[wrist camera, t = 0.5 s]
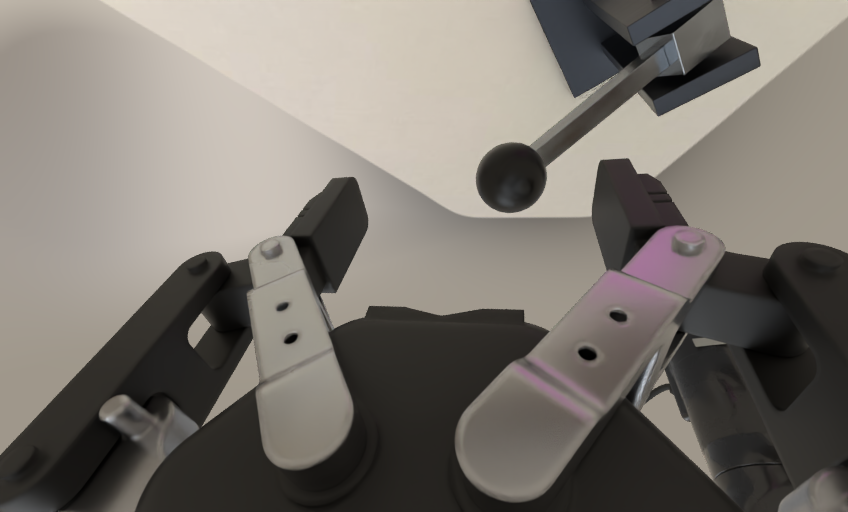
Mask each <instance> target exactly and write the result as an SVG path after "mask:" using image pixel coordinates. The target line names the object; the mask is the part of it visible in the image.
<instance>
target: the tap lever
mask: <svg viewBox="0 0 848 512" xmlns="http://www.w3.org/2000/svg"><path fill="white" fill-rule="evenodd" d="M730 38H731V36H730V32H729V27H728V22H727V18H726V13H725V9H724V4H723V0H711V1H709V2H708V3H706V4H704V5H702V6H701V7H699V8H697V9H696V10H694V11H692V12H691V13H689V14H687V15H686V16H684V17H682V18H681V19H679V20H677V21H676V22H674V23H672V24H671V25H669V26H667V27H666V28H664V29H662V30H661V31H659V32H657V33H655V34H654V35H652V36H650V37H649V38H647V39H645V40H644V41H642V42H640V43H639V44H637V45H636V47H637V50H638V53H639V56H638V57H637V58H636V59H635V60H634V61H632V62H631V63H630V64H629V65H627V66H626V67H625V68H624V69H623V70H621V71H620V72H619V73H618V74H617V75H615V76H614V77H613V78H612V79H610V80H609V81H608V82H607V83H606V84H604V85H603V86H602V87H601V88H599V89H598V90H597V91H596V92H595V93H593V94H592V95H591V96H590V97H588V98H587V99H586V100H585V101H584V102H582V103H581V104H580V105H579V106H578V107H576V108H575V109H574V110H573V111H571V112H570V113H569V114H568V115H567V116H565V117H564V118H563V119H562V120H560V121H559V122H558V123H557V124H556V125H554V126H553V127H552V128H551V129H549V130H548V131H547V132H546V133H545V134H543V135H542V136H541V137H540V138H539V139H537V140H536V141H535V142H534V143H532V144H531V145H530V146H527V145H525V144H522V143H513V142H511V143H505V144H501V145H498V146H496V147H495V148H493V149H492V150H490V151H489V152H488V153H487V154H486V155H485V156H484V157H483V159H482V160H481V162H480V164H479V166H478V169H477V173H476V185H477V189H478V192H479V195H480V196H481V198H482V199H483V201H484V202H485V203H486V204H487V205H488V206H490V207H491V208H493V209H495V210H497V211H500V212H505V213H514V212H519V211H522V210H525V209H527V208H529V207H530V206H532V205H533V204H534V203H535V202H536V201H537V200H538V199H539V197H540V196H541V194H542V193H543V191H544V188H545V185H546V180H547V172H546V166H547V165H549V164H550V163H551V162H552V161H554V160H555V159H556V158H557V157H559V156H560V155H561V154H562V153H563V152H565V151H566V150H567V149H568V148H570V147H571V146H572V145H573V144H575V143H576V142H577V141H578V140H579V139H581V138H582V137H583V136H584V135H586V134H587V133H588V132H589V131H590V130H592V129H593V128H594V127H595V126H597V125H598V124H599V123H600V122H602V121H603V120H604V119H605V118H606V117H608V116H609V115H610V114H611V113H613V112H614V111H615V110H616V109H618V108H619V107H620V106H621V105H622V104H624V103H625V102H626V101H627V100H629V99H630V98H631V97H632V96H633V95H635V94H636V93H637V92H638V91H640V90H641V89H642V88H643V87H645V86H646V85H647V84H648V83H649V82H651V81H652V80H653V79H654V78H656V77H663V76H676V75H685V74H687V73H688V72H689V71H690V70H692V69H693V68H694V67H695V66H696V65H698V64H699V63H700V62H701V61H703V60H704V59H705V58H706V57H708V56H709V55H710V54H711V53H712V52H714V51H715V50H716V49H717V48H719V47H720V46H721V45H722V44H724V43H725V42H726V41H727V40H729V39H730Z"/></svg>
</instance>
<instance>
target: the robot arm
mask: <svg viewBox="0 0 848 512" xmlns="http://www.w3.org/2000/svg"><path fill="white" fill-rule="evenodd" d="M592 221H593V226H594V229H595V232H596V236H597V239H598V243H599V246H600V249H601V252H602V256H603V259H604V263H605V266H606V269H607V271H606V272H605V273H604V274H603V275H602V276H601V277H600V278H599V279H598V281H597V282H596V283H595V284H594V285H593V286H592V287H591V288H590V289H589V290H588V291H587V292H586V293H585V294H584V296H582V298H581V299H580V300H579V301H578V302H577V303H576V304H575V305H574V306H573V307H572V308H571V309H570V311H568V313H567V314H566V315H565V316H564V317H563V318H562V319H561V320H560V321H559V322H558V323H557V324H556V325H555V326H554V327H553V329H552V330H551V331H548V330H546V329H544V328H542V327H539V326H536V325H533V324H530V323H526V322H524V310H508V309H505V310H503V309H479V310H473V311H468V312H462V313H457V314H450V315H443V316H440V315H435V314H431V313H427V312H422V311H419V310H415V309H410V308H407V307H388V306H387V307H385V306H369V308H368V311H367V313H366V316H365V318H361V319H357V320H353V321H350V322H348V323H345V324H343V325H341V326H339V327H337V328H335V329H334V327H333V324H332V322H331V319H330V317H329V314H328V312H327V309H326V307H325V305H324V302H323V300H322V298H321V296H320V294H321V293H336V292H337V290H338V288H339V286H340V284H341V282H342V280H343V278H344V276H345V274H346V272H347V270H348V268H349V266H350V264H351V262H352V260H353V258H354V256H355V254H356V251H357V249H358V247H359V246H360V243H361V241H362V239H363V237H364V235H365V233H366V231H367V228H368V215H367V212H366V208H365V205H364V202H363V199H362V195H361V192H360V189H359V185H358V183H357V181H356V179H355V178H354V177H344V178H333V179H332V180H331V181H330V182H329V183H328V185H327V186H326V187H325V189H324V190H323V191H322V192H321V193H319V194H318V195H316V196H315V197H314V198H312V199H311V200H309V202H308V203H307V204H306V206H305V207H304V208H303V210H302V211H301V212H300V214H299V215H298V217H296V218H295V220H294V221H293V222H292V224H291V225H290V226H289V227H288V229H287V230H286V231H285V233H284V234H283V235H282V236H275V237H272V238H269V239H267V240H264V241H262V242H260V243H259V244H257V245H256V246H255V247H254V248H253V249H252V250H251V251H250V253H249V255H248V259H245V260H240V261H236V262H232V263H227V262H226V261H225V259H224V258H223V256H222V255H221V254H220V253H218V252H206V253H202V254H199V255H196V256H194V257H192V258H190V259H189V260H187V261H186V262H184V263H183V264H182V265H181V266H179V267H178V269H177V270H176V271H175V272H174V273H173V274H172V275H171V276H170V277H169V278H168V279H167V280H166V281H165V282H164V283H163V285H161V286H160V287H159V289H158V290H157V291H156V292H155V293H154V294H153V295H152V296H151V297H150V298H149V299H148V300H147V301H146V302H145V303H144V304H143V305H142V307H140V309H139V310H138V311H137V312H136V313H135V314H134V315H133V316H132V317H131V318H130V319H129V320H128V321H127V322H126V323H125V324H124V325H123V326H122V328H121V329H120V330H119V331H118V332H117V333H116V334H115V335H114V336H113V337H112V338H111V339H110V340H109V341H108V342H107V343H106V344H105V346H104V347H103V348H102V349H101V350H100V351H99V352H98V353H97V354H96V355H95V356H94V357H93V358H92V359H91V360H90V361H89V362H88V363H87V364H86V366H85V367H84V368H83V369H82V370H81V371H80V372H79V373H78V374H77V375H76V376H75V377H74V378H73V379H72V380H71V381H70V382H69V383H68V384H67V386H66V387H65V388H64V389H63V390H62V391H61V392H60V393H59V394H58V395H57V396H56V397H55V398H54V399H53V400H52V401H51V403H49V404H48V405H47V407H46V408H45V409H44V410H43V411H42V412H41V413H40V414H39V415H38V416H37V417H36V418H35V419H34V420H33V421H32V422H31V423H30V425H28V427H27V428H26V429H25V430H24V431H23V432H22V433H21V434H20V435H19V436H18V437H17V438H16V439H15V440H14V441H13V442H12V443H11V444H10V446H9V447H8V448H7V449H6V450H5V451H4V452H3V453H2V454H1V455H0V512H848V254H847V253H845V252H843V251H841V250H838V249H835V248H832V247H829V246H825V245H821V244H816V243H808V242H791V243H786V244H782V245H780V246H778V247H777V248H776V249H775V250H774V252H773V254H772V255H771V257H770V259H767V258H760V257H754V256H748V255H742V254H736V253H731V252H727V251H725V245H724V243H723V242H722V241H721V240H720V239H719V238H718V237H717V236H715V235H714V234H712V233H710V232H707V231H705V230H702V229H699V228H695V227H690V226H688V224H687V222H686V221H685V219H684V218H683V216H682V215H681V213H680V212H679V210H678V208H677V207H676V205H675V204H674V202H672V199H671V197H670V196H669V194H667V191H666V189H665V188H664V186H663V185H662V183H661V182H660V181H658V180H657V179H655V178H654V177H652V176H650V175H649V174H637V173H636V171H635V169H634V167H633V165H632V164H631V162H630V160H629V159H628V158H626V159H611V160H601V161H600V163H599V166H598V171H597V178H596V184H595V191H594V198H593V204H592ZM200 313H202V314H203V315H204V316H205V318H206V319H207V320H208V321H209V323H210V324H211V326H210V327H209V329H208V330H207V331H206V333H205V334H204V336H203V337H202V339H201V340H200V341H199V343H198V344H197V346H196V347H195V348H194V349H193V348H192V346H191V345H190V344H189V342H188V338H187V337H188V331H189V328H190V326H191V325H192V324H193V322H194V321H195V320H196V318H197V317H198V316H199V314H200ZM252 339H253V340H254V346H255V353H256V359H257V366H258V372H259V384H258V385H257V386H256V387H255V388H254V389H252V390H251V391H249V392H248V393H247V394H245V395H244V396H243V397H241V398H240V399H239V400H237V401H236V402H235V403H233V404H232V405H231V406H229V407H228V408H227V409H225V410H224V411H223V412H221V413H220V414H219V415H217V416H216V417H215V418H213V419H212V420H211V421H209V422H208V423H207V424H205V425H204V426H202V425H203V423H204V422H205V420H206V418H207V416H208V415H209V413H210V411H211V410H212V408H213V406H214V404H215V403H216V401H217V399H218V397H219V395H220V394H221V392H222V391H223V389H224V387H225V385H226V384H227V382H228V380H229V378H230V377H231V375H232V374H233V372H234V370H235V368H236V367H237V365H238V363H239V361H240V360H241V358H242V356H243V355H244V353H245V351H246V350H247V348H248V346H249V344H250V343H251V341H252ZM664 369H665V372H666V374H667V377H668V380H669V383H670V384H664V385H661V386H659V387H657V388H655V389H654V390H652V389H653V387H654V385H655V384H656V382H657V380H658V379H659V377H660V376H661V374H662V372H663V371H664ZM665 390H670V393H672V394H673V395H674V396H675V399H676V402H677V405H678V407H679V410H680V413H681V416H682V418H683V419H684V420H686V421H689V422H691V424H692V427H693V429H694V432H695V434H696V437H697V439H698V442H699V445H700V448H701V450H702V452H703V455H704V458H705V460H706V463H707V466H708V468H709V471H710V473H711V476H712V479H713V480H711V479H710V478H709V477H708V476H707V475H706V474H705V473H704V472H703V471H702V470H701V469H700V468H699V467H698V466H697V465H696V464H695V463H694V462H693V461H692V460H690V459H689V458H688V457H687V456H686V455H685V454H684V453H683V452H682V451H681V450H680V449H679V448H678V447H677V446H676V445H675V444H674V443H673V442H672V441H671V440H670V439H669V438H667V437H666V436H665V435H664V434H663V433H662V432H661V431H660V430H659V429H658V428H657V427H656V426H655V425H654V424H653V423H652V422H651V421H649V419H647V417H645V416H644V415H643V414H642V413H641V412H640V410H641V409H642V407H643V405H644V404H645V403H647V402H648V401H649V400H650V399H652V398H653V397H655V396H656V395H658V394H659V393H661V392H663V391H665Z"/></svg>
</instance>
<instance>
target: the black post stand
mask: <svg viewBox="0 0 848 512" xmlns="http://www.w3.org/2000/svg"><path fill="white" fill-rule="evenodd" d="M709 1H711V0H530V2H531V4H532V7H533V9H534V11H535V13H536V15H537V17H538V20H539V22H540V24H541V26H542V28H543V31H544V33H545V35H546V37H547V39H548V41H549V44H550V46H551V48H552V50H553V52H554V55H555V57H556V59H557V61H558V63H559V66H560V68H561V70H562V72H563V74H564V76H565V79H566V81H567V83H568V85H569V87H570V90H571V92H572V94H573V96H574V98H576V97H577V96H579V95H581V94H583V93H584V92H586V91H588V90H590V89H591V88H593V87H595V86H597V85H598V84H600V83H602V82H604V81H605V80H607V79H609V78H610V77H612V76H614V75H616V74H617V73H619V72H620V71H621V70H623V69H624V68H625V67H626V66H627V65H629V64H630V63H631V62H632V61H634V60H635V59H636V58H637V57H638V56H639V53H638V50H637V47H636V45H637V44H639V43H640V42H642V41H644V40H645V39H647V38H649V37H650V36H652V35H654V34H655V33H657V32H659V31H661V30H662V29H664V28H666V27H667V26H669V25H671V24H672V23H674V22H676V21H677V20H679V19H681V18H682V17H684V16H686V15H687V14H689V13H691V12H692V11H694V10H696V9H697V8H699V7H701V6H702V5H704V4H706V3H708V2H709ZM760 65H761V64H760V59H759V54H758V48H757V47H755V46H753V45H751V44H748V43H746V42H744V41H741V40H739V39H736V38H734V37H732V36H731V38H730V39H729V40H727V41H726V42H725V43H724V44H722V45H721V46H720V47H719V48H717V49H716V50H715V51H714V52H712V53H711V54H710V55H709V56H708V57H706V58H705V59H704V60H703V61H701V62H700V63H699V64H698V65H696V66H695V67H694V68H693V69H692V70H690V71H689V72H688V73H687V74H685V75H676V76H663V77H656V78H654V79H653V80H652V81H651V82H649V83H648V84H647V85H646V86H645V87H643V88H642V89H641V90H640V91H638V92H637V93H638V94H639V95H640V96H641V97H642V98H643V100H644V101H645V102H646V103H647V104H648V105H649V106H650V108H651V109H652V110H653V111H654V112H655V113H656V115H657V116H660V115H663V114H665V113H667V112H669V111H671V110H673V109H675V108H677V107H679V106H681V105H683V104H685V103H687V102H689V101H691V100H693V99H695V98H697V97H699V96H701V95H703V94H705V93H707V92H709V91H711V90H713V89H715V88H717V87H719V86H721V85H723V84H725V83H727V82H730V81H732V80H734V79H736V78H738V77H740V76H742V75H744V74H746V73H748V72H750V71H752V70H754V69H756V68H758V67H760Z"/></svg>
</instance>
